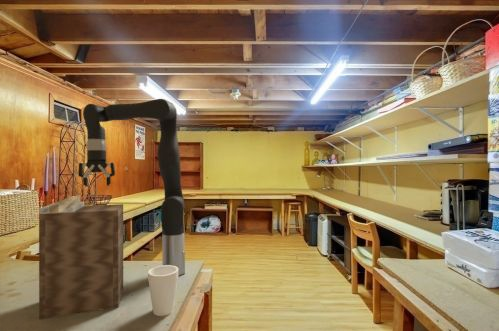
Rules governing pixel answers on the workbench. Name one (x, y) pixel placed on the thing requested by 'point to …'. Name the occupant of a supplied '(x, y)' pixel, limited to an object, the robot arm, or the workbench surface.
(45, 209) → the trough
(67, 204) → the beige wooden rod
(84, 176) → the robot arm
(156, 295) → the foam cup
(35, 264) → the workbench surface
